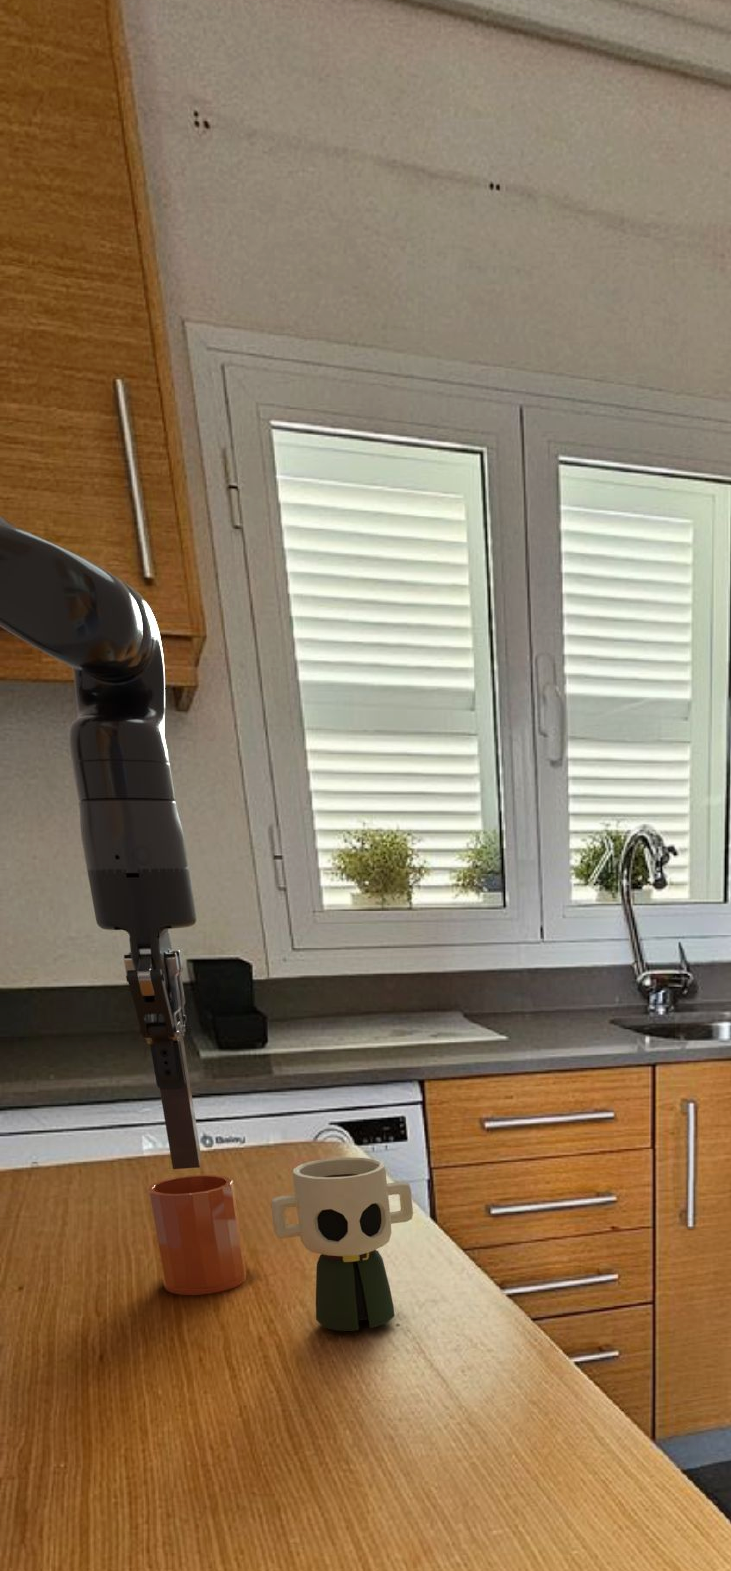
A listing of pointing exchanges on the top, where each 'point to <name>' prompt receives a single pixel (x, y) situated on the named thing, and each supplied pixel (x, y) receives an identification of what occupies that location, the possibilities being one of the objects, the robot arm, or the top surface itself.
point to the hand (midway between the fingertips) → (173, 1084)
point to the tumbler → (197, 1234)
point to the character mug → (345, 1235)
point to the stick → (181, 1120)
